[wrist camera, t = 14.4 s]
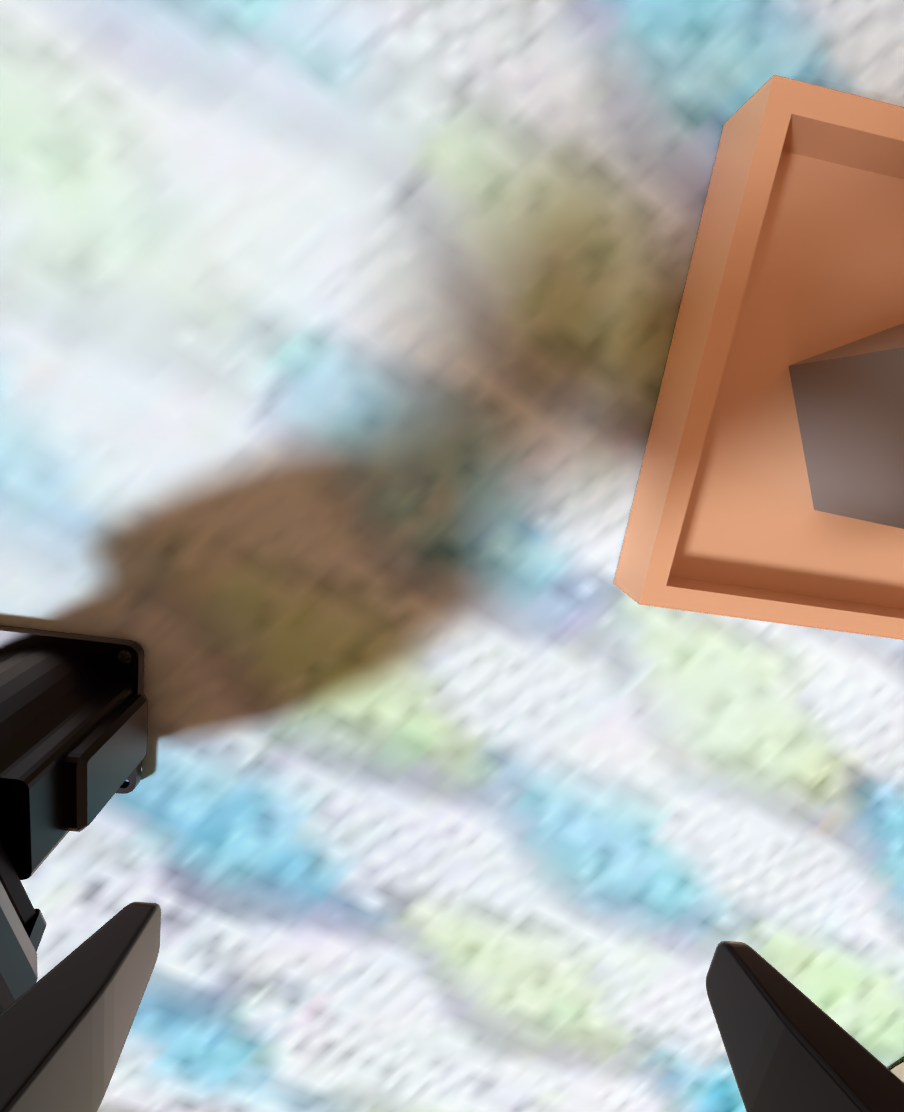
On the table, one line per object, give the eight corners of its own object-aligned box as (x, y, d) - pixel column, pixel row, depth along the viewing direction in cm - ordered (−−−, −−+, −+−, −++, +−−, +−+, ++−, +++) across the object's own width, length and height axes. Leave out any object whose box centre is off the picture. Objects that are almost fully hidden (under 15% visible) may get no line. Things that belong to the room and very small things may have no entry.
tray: (613, 583, 21) (639, 604, 18) (723, 124, 17) (773, 74, 15) (966, 632, 23) (1032, 657, 20) (1135, 222, 19) (1241, 192, 16)
